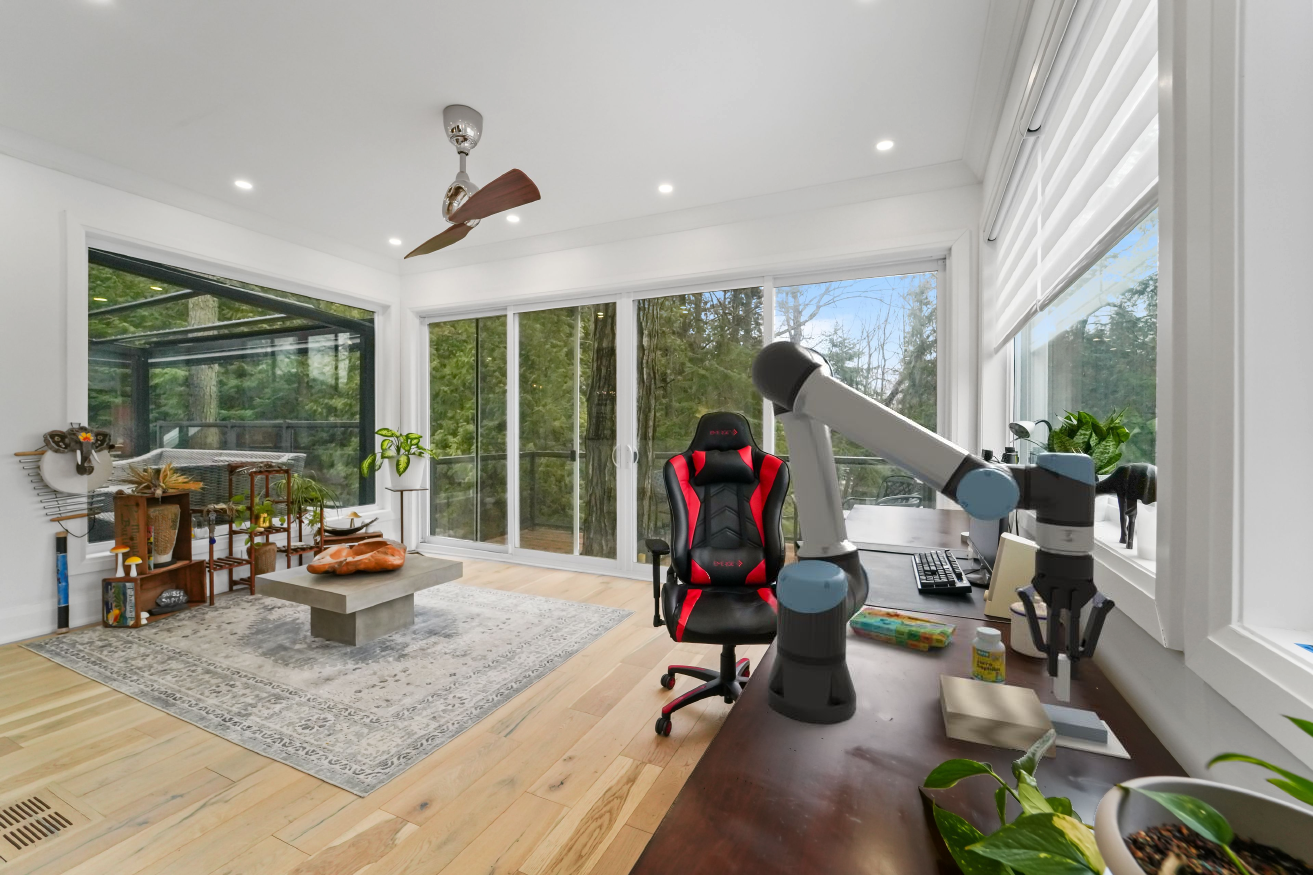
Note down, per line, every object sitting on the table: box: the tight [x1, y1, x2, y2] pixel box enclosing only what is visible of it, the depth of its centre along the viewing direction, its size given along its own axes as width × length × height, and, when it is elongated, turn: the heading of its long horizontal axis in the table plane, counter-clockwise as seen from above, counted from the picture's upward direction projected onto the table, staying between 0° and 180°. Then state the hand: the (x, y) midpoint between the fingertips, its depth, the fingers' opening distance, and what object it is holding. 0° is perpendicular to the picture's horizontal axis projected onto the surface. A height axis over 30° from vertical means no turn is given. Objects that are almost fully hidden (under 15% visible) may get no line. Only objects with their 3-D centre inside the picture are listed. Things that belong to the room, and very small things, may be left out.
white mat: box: [1056, 720, 1132, 760], centre depth 88 cm, size 10×11×1 cm
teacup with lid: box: [1009, 595, 1062, 659], centre depth 121 cm, size 12×9×12 cm
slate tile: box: [1040, 702, 1108, 744], centre depth 88 cm, size 8×6×2 cm
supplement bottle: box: [971, 626, 1006, 685], centre depth 106 cm, size 5×5×10 cm
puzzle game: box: [849, 606, 957, 652], centre depth 127 cm, size 12×5×20 cm
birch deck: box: [939, 674, 1057, 759], centre depth 90 cm, size 14×14×4 cm
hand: (1061, 697), depth 89 cm, fingers closed
